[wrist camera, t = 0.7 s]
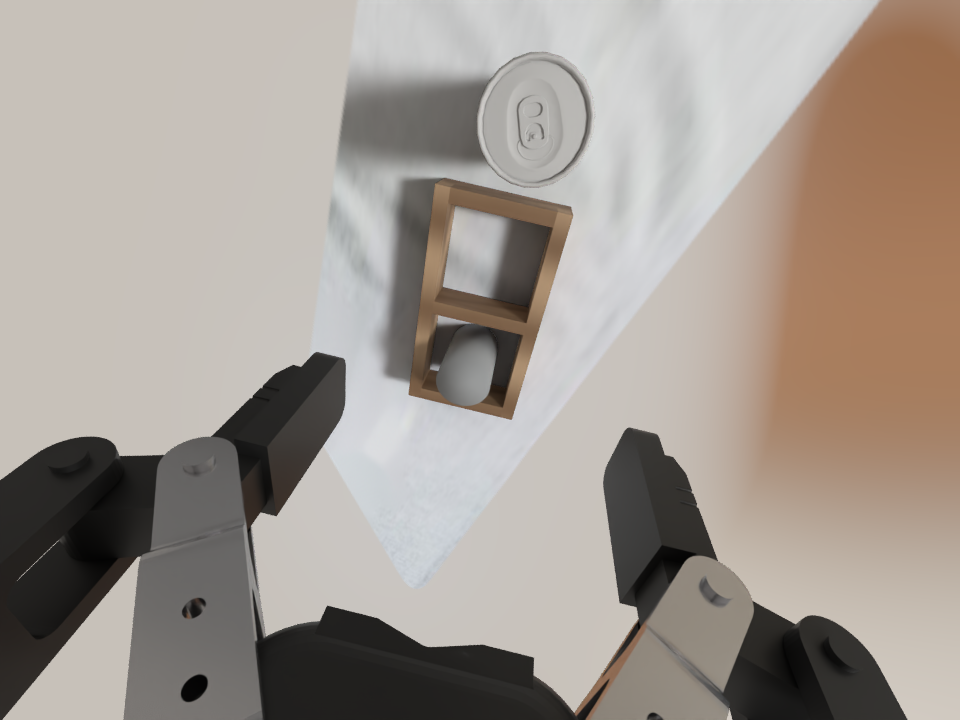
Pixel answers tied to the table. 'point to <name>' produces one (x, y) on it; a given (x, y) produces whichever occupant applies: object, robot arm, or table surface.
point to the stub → (468, 365)
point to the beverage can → (535, 119)
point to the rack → (479, 307)
